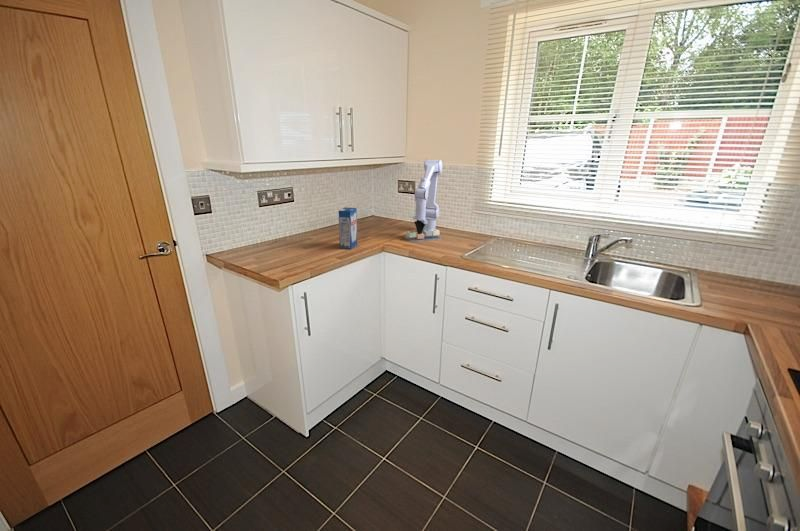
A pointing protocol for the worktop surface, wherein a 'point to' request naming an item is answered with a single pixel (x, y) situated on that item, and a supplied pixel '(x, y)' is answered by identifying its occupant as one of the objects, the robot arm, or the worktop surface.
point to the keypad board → (426, 238)
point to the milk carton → (348, 228)
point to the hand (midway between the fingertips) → (419, 233)
